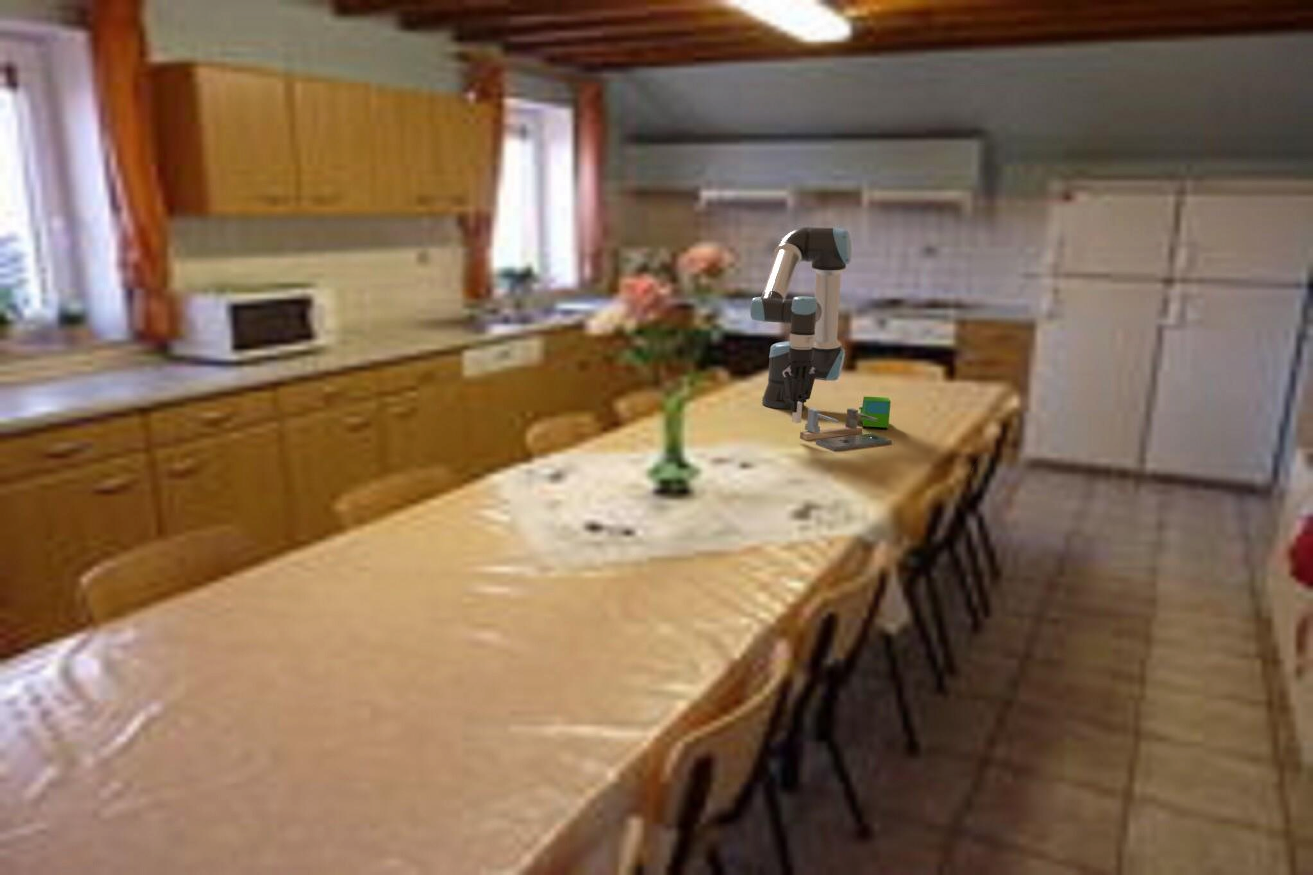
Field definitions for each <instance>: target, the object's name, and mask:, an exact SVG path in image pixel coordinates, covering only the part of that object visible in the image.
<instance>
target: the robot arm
mask: <svg viewBox="0 0 1313 875" xmlns="http://www.w3.org/2000/svg"><path fill="white" fill-rule="evenodd" d="M773 258H774V261H773V263H772V265H771V269H770V272H769V275H768V277H767V279H766V280H767V281H766V283H765V285H764V288H763V292H762V293H761V294H762V295H761V296H758V297H757V296H756V297H754V298H752V299H751V302H750V309H749V310H750V311H749V312H750V318H751V320H753V321H757V322H762V323H764V322H765V323H781V324H790V331H789V341H781V342H776V343H774V344H772V345H771V346H770V351H769V356H768V358H769V360H768V361H769V362H768V375H767V376H768V378H767V379H768V380H767V385H766V388H765V391H764V394H763V396H762V397H761V398H762V399H761V404H762V405H763V406H765V407H768V408H773V409H782V410H790V411H791V412H792V416H791V422H793V423H796V424H801V423H802V414H803V413H802V412H804V407H805V405H804V404H805V403H806V402H807V400H810V399H811V396H812V395H811V394H812V390H813V387H814V383H815V380H818V381H824V382H826V381H830V382H831V381H833V382H834V381H835V382H836V381H837V380H839V378H840V377H841V372H842V369H843V365H844V361H845V355H846V353H845V352H846V350H845V349H844V348H841V347H842V342H841V341H839V340H838V331H839V330H838V329H839V328H838V327H839V326H838V325H839V313H840V312H839V311H840V310H839V309H840V298H841V297H840V294H841V281H842V280H841V276H842V273H843V272H844V271H845V270H847V265H849V264H850V263H851V260H852V241H851V235H850V233H849V231H848V230H847V229H845V228H839V227H838V228H837V227H809V226H807V227H806V226H804V227H803V226H802V227H798V228H796V229H794V230H792V231H790V232H788V233H787V234H786V235H784V237H782V238H781V239H780V240H779V242H778V243H777V244H776V246H775V250H774V251H773ZM801 262H807V263H808V262H809V263H811V268H812V270H813V271H814V272H815V284H814V296H805V295H804V296H803V295H802V296H801V295H800V296H794V297H793V299H790V298H786V297H787V296H788V291H789V289H790V285H791V282H792V279H793V277H794V274H795V270H796V267H797V266H798V265H799V264H801Z"/></svg>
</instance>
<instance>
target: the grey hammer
mask: <svg viewBox="0 0 1313 875" xmlns="http://www.w3.org/2000/svg"><path fill="white" fill-rule="evenodd" d="M819 418H821V419H824V420H826V421H829V422H832V423H835V424H838V423H839V420H838V419H836V418H834V417H830V416H826V415H823V414H821V413H820V410H819V409H816V408H815V407H814V408H808V409H807V419H806V420H807V422H806V423H804V431H810V432H813V433H820V430H821V426H820V425H819Z"/></svg>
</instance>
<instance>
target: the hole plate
mask: <svg viewBox="0 0 1313 875" xmlns="http://www.w3.org/2000/svg"><path fill="white" fill-rule="evenodd" d="M815 444H816V445H817V446H820V447H823V448H825V449H828V450H830V451H834V452H838V451H844V450H853V449H860V448H859V447H862V448H867V447H875V446H874V445H877V446H883V445H884V444H885V445H890V444H891V445H892V444H893V439H890V438H887V437H885V436H882V435H878V434H875V433H874V432H873V433H865V434H864V433H862V434H854V435H846V436H838V437H829V438H821V439H815Z"/></svg>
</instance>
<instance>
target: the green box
mask: <svg viewBox="0 0 1313 875" xmlns="http://www.w3.org/2000/svg"><path fill="white" fill-rule="evenodd" d="M891 402H892V401H891V400H890V398H889V397H880V396H863V400H862V407H860V406H859V408H858V409H859V410H860V412H859V413H861V414H864V415H867V416H870V417H873V418H877V419H878V420H877V421H872V420H869V419H866V418H863V417H860V416H859V419H860V420H859V422H860V423H861V424H862V429H867V427H875V428H884V429H883V430H887V429H888V428H889V424H890V423H889V422H890V412H891Z"/></svg>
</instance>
